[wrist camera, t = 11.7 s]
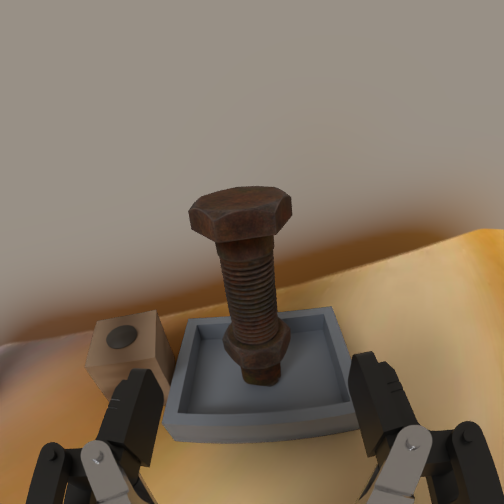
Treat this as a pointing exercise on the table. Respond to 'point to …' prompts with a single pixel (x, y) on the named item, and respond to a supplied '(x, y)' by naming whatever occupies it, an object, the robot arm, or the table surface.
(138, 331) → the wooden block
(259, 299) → the bolt
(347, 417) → the tray
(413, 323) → the table surface
